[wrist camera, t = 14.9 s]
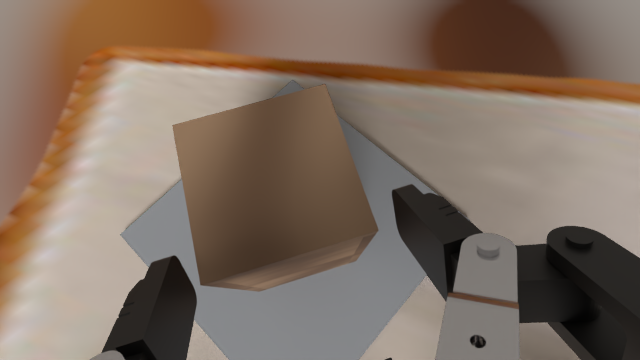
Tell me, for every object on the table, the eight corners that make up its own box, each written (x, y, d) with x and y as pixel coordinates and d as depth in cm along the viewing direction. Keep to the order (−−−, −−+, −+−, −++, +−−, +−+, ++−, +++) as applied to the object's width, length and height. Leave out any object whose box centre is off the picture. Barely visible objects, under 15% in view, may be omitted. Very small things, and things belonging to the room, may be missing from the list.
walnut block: (326, 172, 23) (325, 83, 14) (356, 261, 21) (378, 230, 12) (237, 198, 22) (172, 125, 13) (259, 291, 20) (200, 285, 11)
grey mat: (293, 82, 26) (292, 79, 26) (467, 221, 22) (470, 220, 22) (123, 235, 22) (120, 234, 22) (297, 434, 18) (296, 437, 18)
